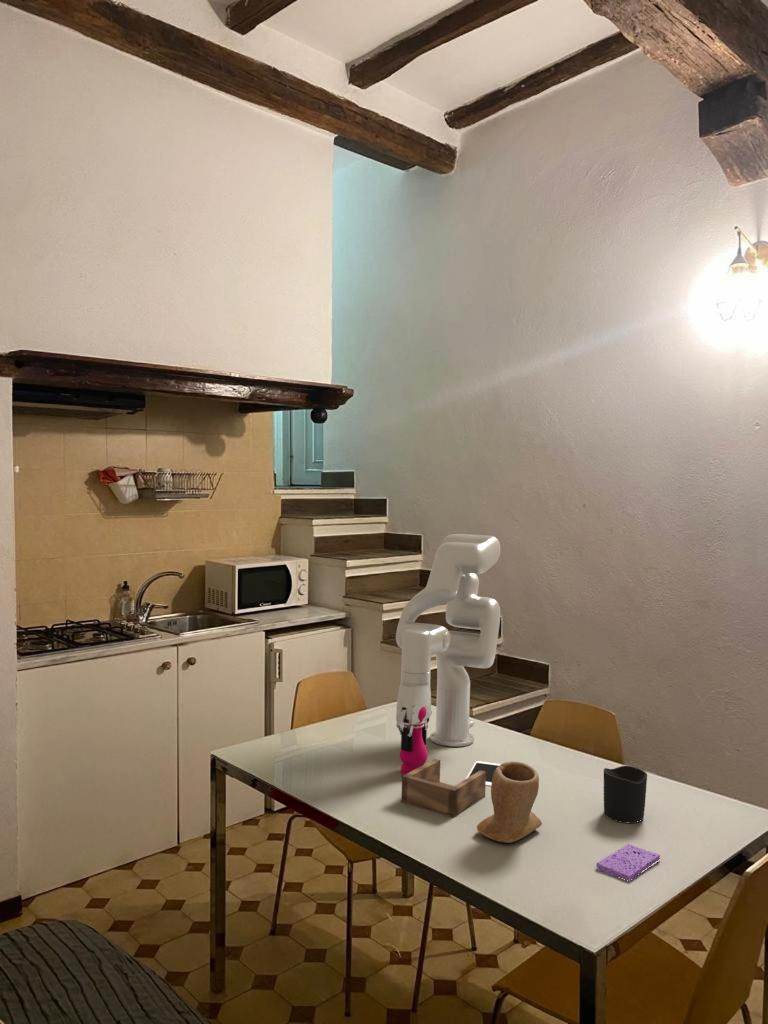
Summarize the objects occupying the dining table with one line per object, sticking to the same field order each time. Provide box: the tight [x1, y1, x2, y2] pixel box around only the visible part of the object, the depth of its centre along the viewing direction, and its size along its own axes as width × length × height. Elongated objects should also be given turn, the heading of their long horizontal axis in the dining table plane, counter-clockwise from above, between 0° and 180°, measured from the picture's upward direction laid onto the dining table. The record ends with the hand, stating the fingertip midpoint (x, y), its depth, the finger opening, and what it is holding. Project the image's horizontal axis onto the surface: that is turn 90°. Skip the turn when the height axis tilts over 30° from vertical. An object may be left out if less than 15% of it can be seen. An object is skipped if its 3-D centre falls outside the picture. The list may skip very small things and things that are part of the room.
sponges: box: [596, 843, 661, 882], centre depth 156 cm, size 7×13×2 cm, turn 135°
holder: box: [400, 758, 486, 818], centre depth 186 cm, size 15×14×6 cm
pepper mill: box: [398, 707, 429, 776], centre depth 203 cm, size 7×7×20 cm
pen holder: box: [603, 765, 648, 823], centre depth 179 cm, size 9×9×10 cm
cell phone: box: [465, 760, 502, 787], centre depth 204 cm, size 8×16×1 cm, turn 163°
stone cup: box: [476, 761, 543, 844], centre depth 168 cm, size 15×12×15 cm
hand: (413, 746), depth 203 cm, fingers closed on pepper mill, 5 cm apart
